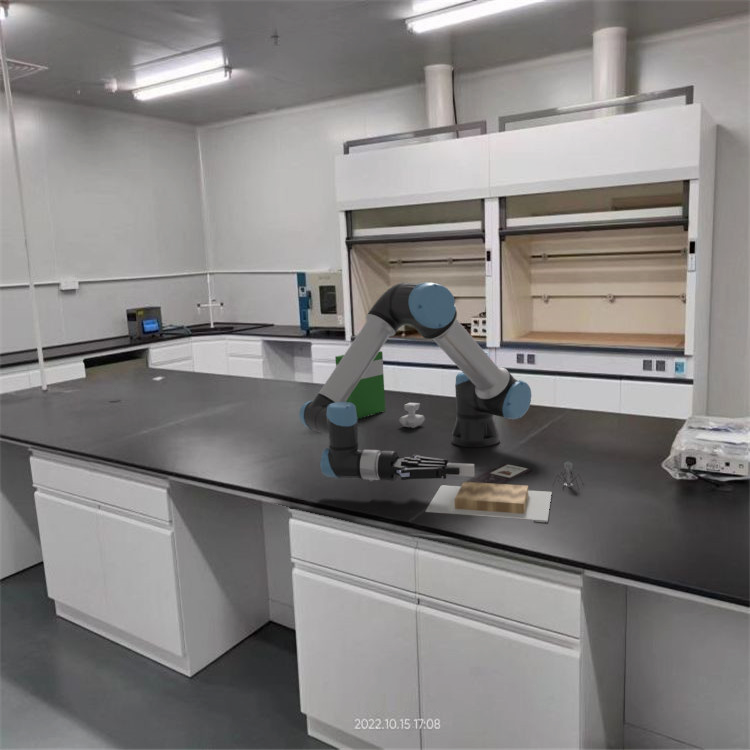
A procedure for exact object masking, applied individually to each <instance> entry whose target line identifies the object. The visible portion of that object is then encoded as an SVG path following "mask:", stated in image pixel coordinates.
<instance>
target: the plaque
mask: <svg viewBox="0 0 750 750" xmlns="http://www.w3.org/2000/svg"><path fill="white" fill-rule="evenodd" d="M528 490H529V485H526V484H525V485H523V484H510V483H509V484H508V483H505V484H493V483H476V482H467V481H463V482H462V484H461V488H460V490H459V492H458V494H457V495H456V497H455V509H466V510H480V511H494V512H508V513H522V514H524V510H525V506H526V502H527V498H528Z"/></svg>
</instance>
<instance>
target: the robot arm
mask: <svg viewBox="0 0 750 750" xmlns="http://www.w3.org/2000/svg"><path fill="white" fill-rule="evenodd" d="M455 303H456V301H455V297H454V295H453V293H452V292H451V291H450V290H449V288H448V287H446V286H444V285H442V284H440V283H436V282H435V283H434V282H429V281H428V282H400V283H396V284H395V285H392V286H391V287H389V288H388V289H387V290H386V291H385V292H383V293H382V295H380V297H379V298H378V299H377V300H376V302H375V303H374V304H373V305H372V307H371V308H370V310H369V311H368V313H367V314H366V316H365V318H366V321H365V324H364V325H363V326H362V328H361V329H360V331H359V333H358V335H356V336H355V338H354V340H353V342H352V343H351V344H350V346H348V349H347V350H346V352H345V353H344V354H343V355H344V356H343V358H342V359H341V361H340V362H339V364H338V365H337V367H336V366H335V369H333V371H332V373H330V376H329V377H328V378H327V380H326V382H325V383H324V385H323V386H322V388H321V389H320V391H319V392H318V393H317V395H316V397H315V398H314V399H313V400H309V401H307V402H305V403H304V404H302V405H301V407H300V409H299V412H298V415H299V420H300V422H301V424H302V425H303V426H305V427H307V428H308V429H310V430H311V431H314V432H318V433H320V434H323V435H326V436H328V447H326V448H324V449H323V451H322V453H321V456H320V469H321V472H322V474H323V475H324V476H325V477H329V478H337V479H350V480H351V479H356V480H369V482H373V481H374V480H375V481H379V480H381V481H385V482H394V481H396V480H397V478H398V476H400V480H402V481H406V480H418V479H419V480H421V479H422V480H426V479H428V480H429V479H443V480H447V476H452V477H453V476H455V477H456V476H457V477H472V478H475V475H476V474H475V471H476V469H475V463H463V462H460V463H458V462H449V459H448V458H446V459H445V458H437V457H430V456H422V455H419V454H413V455H412V457H411V456H404V457H399V454H398V452H397V451H395V450H382V451H381V450H379V449H360V448H359V437H358V436H359V434H358V428H359V427H358V420H359V419H357V414H356V407H355V405H354V404H353V403H350V402H346V400H347V399H348V397H349V396H350V394H351V393H352V391H353V390H354V388H355V387H356V385H357V384H358V382H359V381H360V379H361V378H362V376H363V375H364V373H365V372H366V370H367V369H368V367H369V366H370V364H371V363H372V361H373V360H374V358H375V357H376V355H377V354H378V352H380V351H381V350H382V348H383V346H384V344H385V343H386V342H387V340H388V338H389V337H393V336H395V335H396V333H397V332H398V331H399V329H400V328H401V327H403V326H410V327H413V328H414V329H415V330H416V331H417V332H418V333H419V334H420V335H421V336H422V337H423V338H424V339H425V340H430V341H432V340H433V341H434V343H435V344H436V345H438V347H439V348H440V349H441V350H442V351H443V353H445V355H446V356H447V357H448V358H449V359H450V360H451V362H452V363H454V364H455V365H456V367H457V368H458V369H459V370H460V371H461V372H459V373H457V374H456V376H455V404H456V409H455V410H456V420H455V422H454V427H453V428H452V429H453V430H452V432H451V442H452V444H454V445H456V446H460V447H465V448H485V447H490V446H491V447H492V446H494V445H497V444H498V443H499V442H500V432H499V429H498V427H497V425H496V422H495V418H494V416H497V417H500V418H503V419H507V420H509V419H510V420H517V419H520V418H522V417H523V416H524V415H525V414H526V413H527V412H528V410H529V409H530V405H531V402H532V390H531V387H530V385H529V384H528V383H527V382H526V381H523V380H521V379H520V380H518V379H516V378H514V376H513V375H512V374H511V373H510V372H509V370H507V369H506V367H501V366H498V365H496V363H495V362H494V361H493V360H492V359H491V357H490V356H489V355H488V354H487V353H486V351H485V350H484V349H483V348H482V347H481V346H480V345H479V344H478V342H477V341H476V340H475V339H474V338H473V337H472V336H471V334H470V333H469V332H468V330H466V328H465V327H464V326H463V325H462V323H460V321H459V320H458V318H457V317H458V311H457V306H456V305H455Z"/></svg>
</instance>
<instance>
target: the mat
mask: <svg viewBox="0 0 750 750" xmlns="http://www.w3.org/2000/svg"><path fill="white" fill-rule="evenodd" d="M461 486H462V485H461ZM461 486H459V485H443V484H442V485H440V487H439V488H438V490H437V491H436V493H435V495H434V496H433V498H432V499H431V501H430V503H429V505H428V506H427V508H426V509H425V510H424V511H425V513H434V514H435V513H438V514H451V515H464V516H478V517H479V516H480V517H491V518H492V517H493V518H503V519H506V518H507V519H516V520H517V519H518V520H520V519H521V520H530V521H531V520H532V521H533V522H534V523H545V522H546V523H548V521H549V516H550V510H551V509H550V507H551V503H550V502H551V501H552V496H551V495H552V494H553V492H552V491H544V490H542V491H541V490H530V489H528V498H527V502H526V506H525V510H524V514H522V513H508V512H494V511H480V510H466V509H455V497H456V495H457V494H458V492H459V490H460V488H461ZM549 509H550V510H549Z"/></svg>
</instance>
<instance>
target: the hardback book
mask: <svg viewBox="0 0 750 750" xmlns="http://www.w3.org/2000/svg"><path fill="white" fill-rule="evenodd" d="M344 355H345V354H341V355H336V356H335V368H336V367H337V365H338V364H339V362H340V361H341V359H342V358H343V356H344ZM383 359H384V357H383V350H382V351H381V350H380V351H379V352H378V354H377V355H376V357H375V358H374V360H373V361H372V363H371V364H370V366H369V367H368V369H367V370H366V372H365V373H364V375H363V376H362V378H361V379H360V381H359V382H358V384H357V385H356V387H355V388H354V390H353V391H352V393H351V394H350V396H349V397H348V399H347V400H346V402H350V403H353V404H354V405H355V407H356V414H357V419H358V418H360V419H362V418H361V417H364V416H367V417H369V416H368V415H371V414H374V415H376V414H375V413H378V414H380V413H379V412H382V411H385V412H386V399H385V398H386V397H385V395H386V394H385V376H384V360H383ZM382 413H383V412H382ZM371 416H372V415H371ZM364 418H365V417H364ZM358 420H359V419H358Z"/></svg>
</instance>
